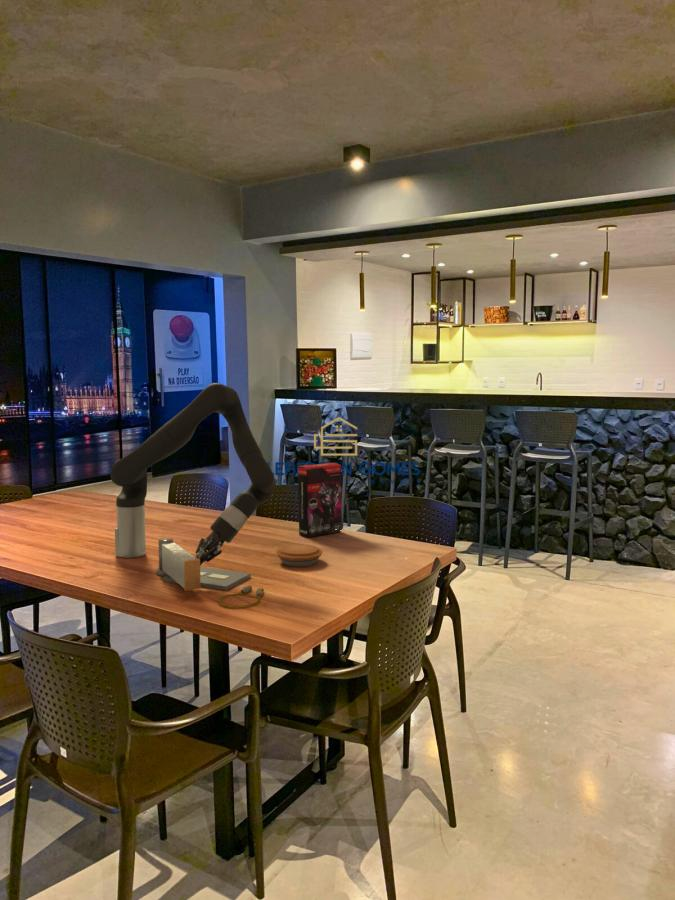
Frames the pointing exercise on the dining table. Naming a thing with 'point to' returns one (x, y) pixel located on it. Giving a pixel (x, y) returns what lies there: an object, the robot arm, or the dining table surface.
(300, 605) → the dining table surface
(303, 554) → the pie
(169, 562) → the grey rectangular block
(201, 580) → the panel
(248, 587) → the extension cord
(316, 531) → the graphics card box
